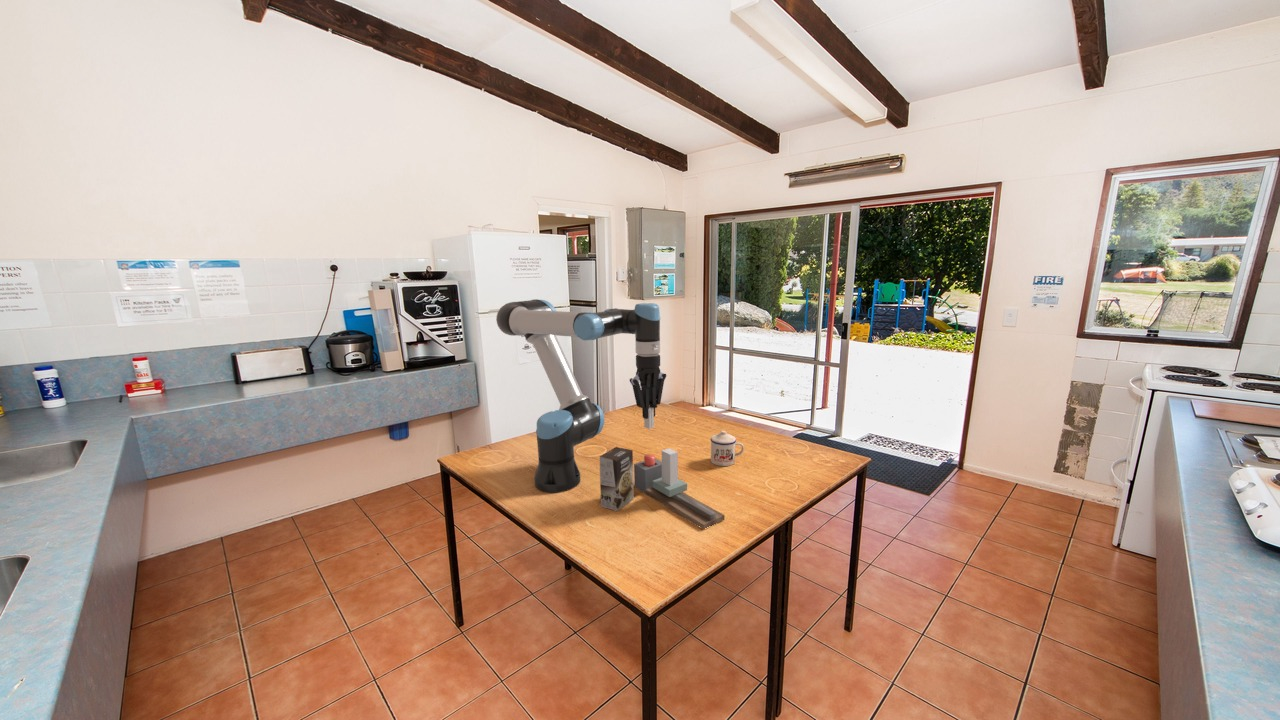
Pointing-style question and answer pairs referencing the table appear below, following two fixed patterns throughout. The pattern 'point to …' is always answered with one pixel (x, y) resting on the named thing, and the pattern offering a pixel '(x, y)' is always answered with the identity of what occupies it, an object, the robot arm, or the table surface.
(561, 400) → the robot arm
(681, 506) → the rail base
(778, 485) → the table surface
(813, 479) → the table surface
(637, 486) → the red push button box
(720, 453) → the teacup with lid
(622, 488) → the coffee box
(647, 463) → the button
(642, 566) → the table surface
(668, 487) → the carriage
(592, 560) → the table surface
